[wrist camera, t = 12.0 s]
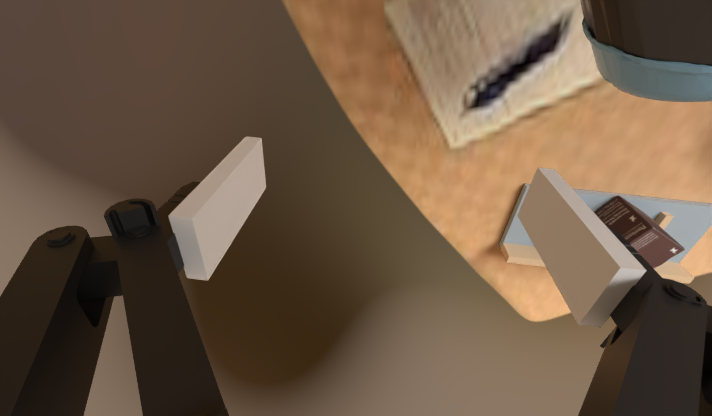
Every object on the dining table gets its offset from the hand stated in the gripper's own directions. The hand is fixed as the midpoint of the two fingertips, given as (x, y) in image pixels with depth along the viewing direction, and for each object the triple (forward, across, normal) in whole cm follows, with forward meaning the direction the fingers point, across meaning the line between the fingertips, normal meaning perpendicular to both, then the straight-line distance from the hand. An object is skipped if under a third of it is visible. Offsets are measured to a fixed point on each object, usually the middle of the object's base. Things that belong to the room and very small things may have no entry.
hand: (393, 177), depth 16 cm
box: (+26, +33, -16) cm, 45 cm away
